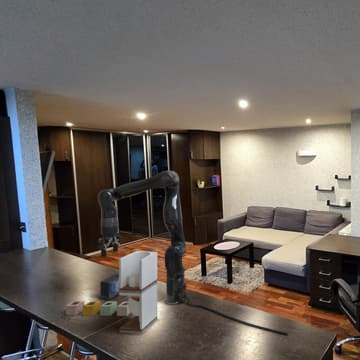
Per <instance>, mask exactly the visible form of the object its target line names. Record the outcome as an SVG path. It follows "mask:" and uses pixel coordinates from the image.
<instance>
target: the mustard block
mask: <svg viewBox="0 0 360 360" xmlns="http://www.w3.org/2000/svg"><path fill="white" fill-rule="evenodd" d="M100 306H101V301H99V300H97V301H96V300H91V301H88V302H87V303H84V306H83V311H82V316H88V317H90V316H92V317H93V316H95V315H96V314H97V313H100Z"/></svg>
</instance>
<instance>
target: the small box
mask: <svg viewBox="0 0 360 360" xmlns="http://www.w3.org/2000/svg"><path fill="white" fill-rule="evenodd" d="M99 288H100V289H99V290H100V292H99V293H100V294H99V299H101V300H107V301H109V300H112V299H113V298H116V297H117V296H120V295H119V274H114V275H112V276H109V277H107V278H105V279H102V280H100V285H99Z"/></svg>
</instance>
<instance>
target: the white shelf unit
mask: <svg viewBox="0 0 360 360" xmlns="http://www.w3.org/2000/svg"><path fill="white" fill-rule="evenodd" d="M118 275H119V295H118V296H121V297H122V296H124V297H128V302H129V311H130V312H131V313H130V314H132V315H133V316H134V317H132V318H131V319H129V320H128V321H127V322H125V323H124V324H123V325H122V326H121V327H119V331H118V332H119V334H136V335H137V334H138V335H142V334H143V333H145V331H147V330H148V329H149V328H150V327H151V326H153V325H154V324H155V323H156V322H158V251H145V250H144V251H143V250H141V251H140V250H136V251H134V252H131V253H129V254H127V255H124V256H122V257H120V258H118Z"/></svg>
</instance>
